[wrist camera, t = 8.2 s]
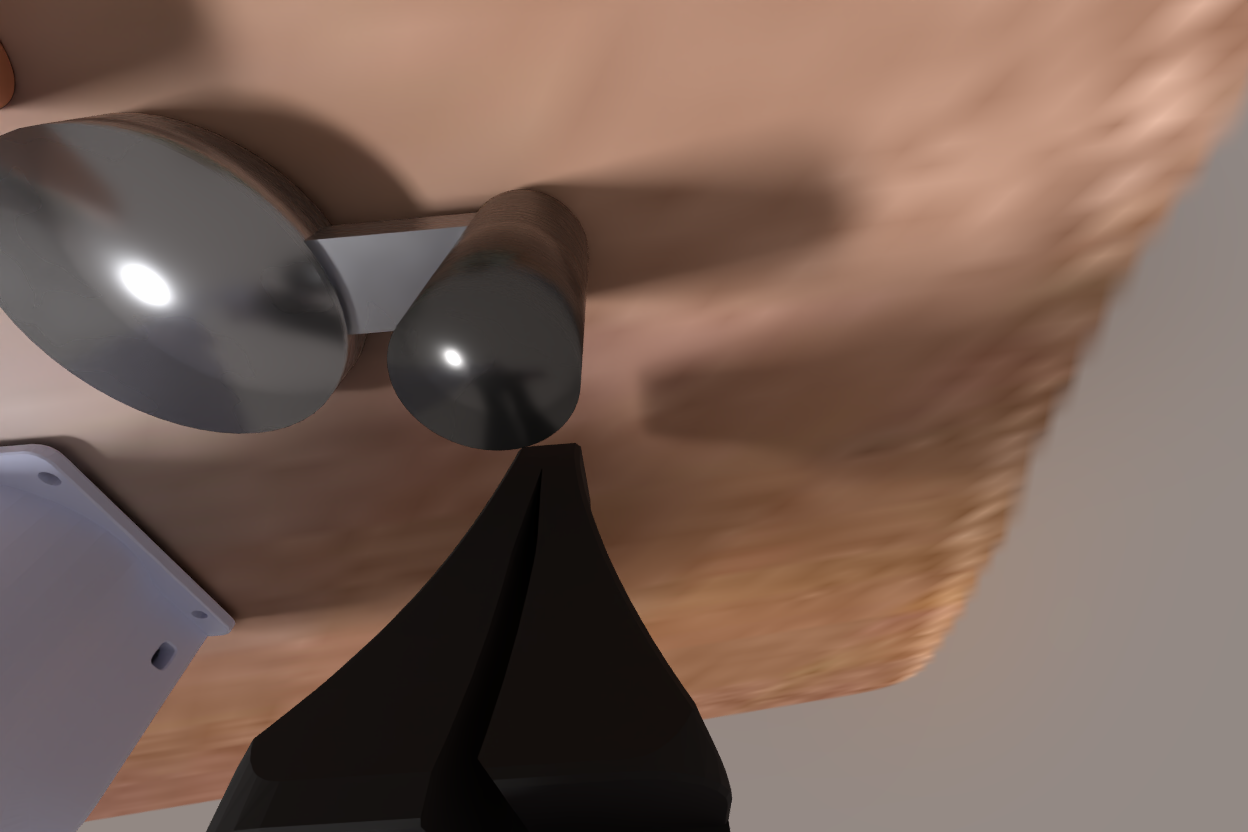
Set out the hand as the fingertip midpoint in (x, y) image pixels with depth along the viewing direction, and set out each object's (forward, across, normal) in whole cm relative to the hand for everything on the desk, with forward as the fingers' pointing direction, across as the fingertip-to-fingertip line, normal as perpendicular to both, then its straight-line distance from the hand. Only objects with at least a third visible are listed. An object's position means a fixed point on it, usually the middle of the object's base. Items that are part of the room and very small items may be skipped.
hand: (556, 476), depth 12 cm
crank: (+2, +5, -5) cm, 7 cm away
